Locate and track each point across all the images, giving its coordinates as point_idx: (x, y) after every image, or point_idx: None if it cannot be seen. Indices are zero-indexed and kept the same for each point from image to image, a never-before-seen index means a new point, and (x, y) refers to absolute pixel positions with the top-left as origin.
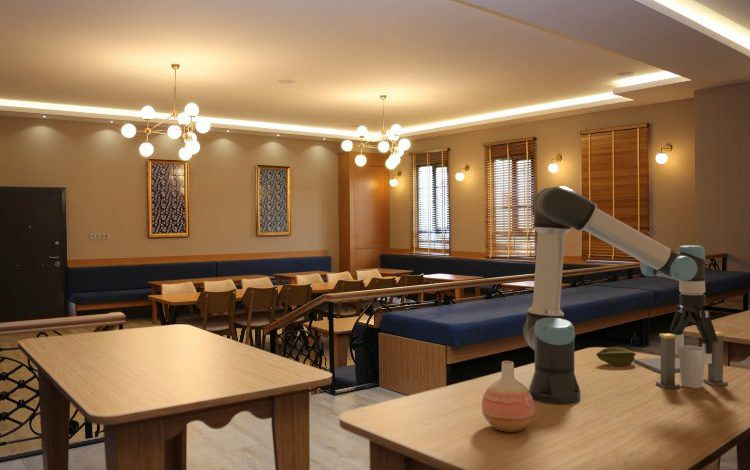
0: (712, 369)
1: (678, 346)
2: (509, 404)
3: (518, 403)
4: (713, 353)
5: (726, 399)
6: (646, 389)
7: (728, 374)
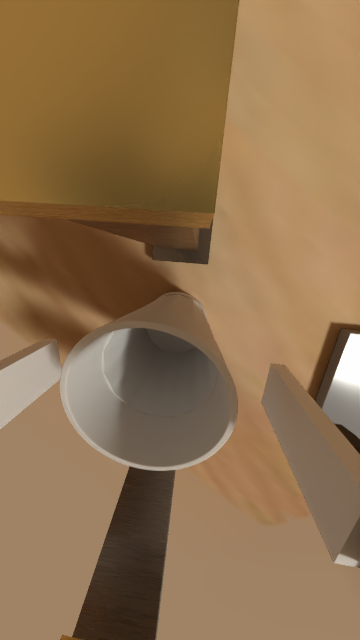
0: None
1: (288, 407)
2: None
3: None
4: (137, 471)
5: (34, 307)
6: None
7: (236, 474)
